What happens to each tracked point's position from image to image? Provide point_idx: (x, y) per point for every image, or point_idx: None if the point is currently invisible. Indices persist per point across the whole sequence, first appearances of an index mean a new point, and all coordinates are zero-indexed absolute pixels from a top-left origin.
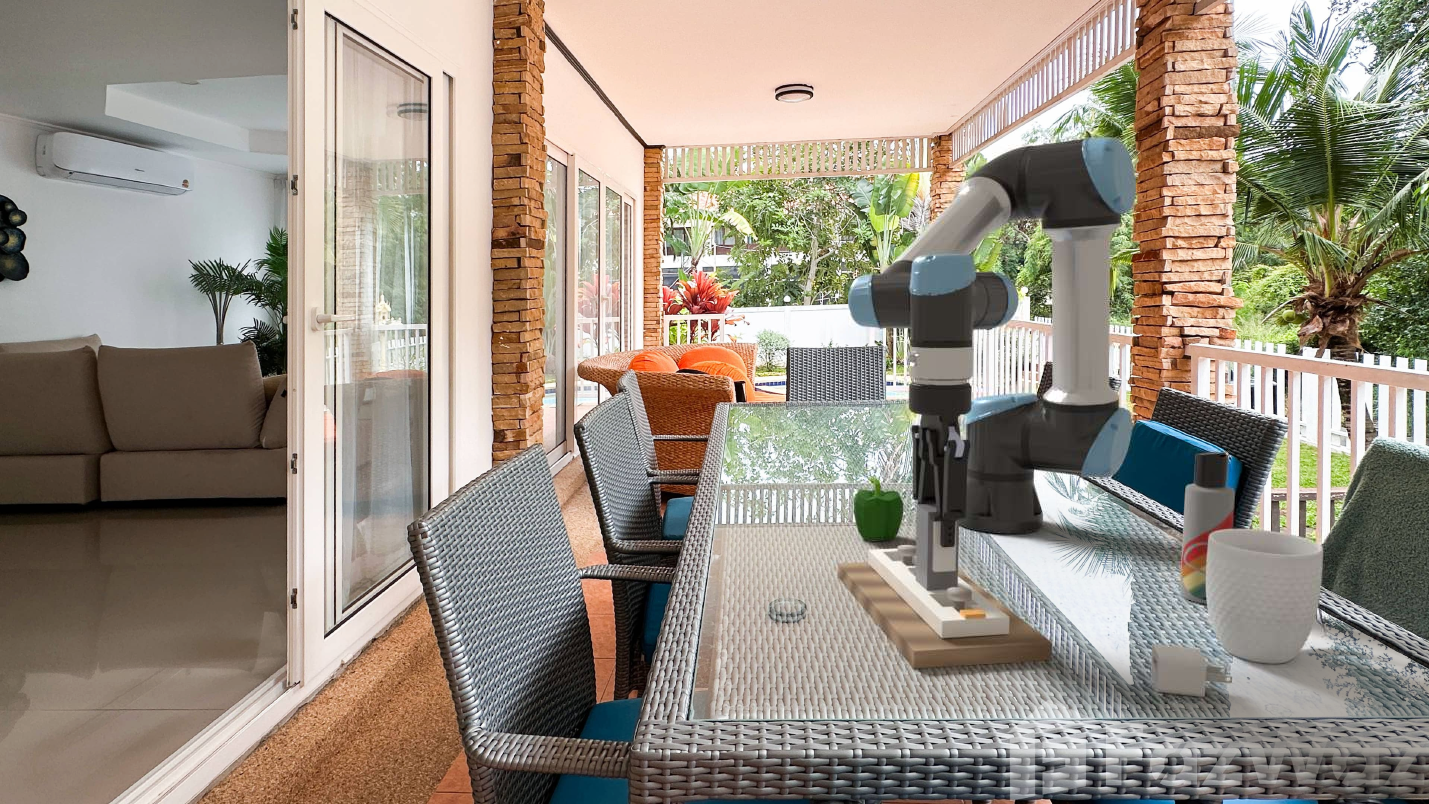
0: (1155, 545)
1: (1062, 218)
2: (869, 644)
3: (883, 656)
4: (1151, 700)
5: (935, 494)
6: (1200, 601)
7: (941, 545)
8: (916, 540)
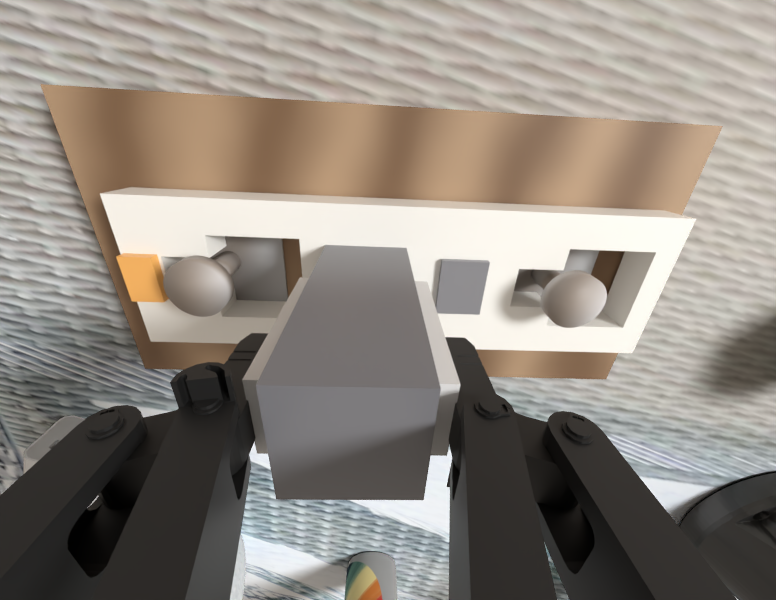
0: None
1: None
2: (215, 29)
3: (141, 39)
4: (41, 399)
5: (202, 517)
6: (354, 558)
7: (266, 334)
8: (415, 294)
